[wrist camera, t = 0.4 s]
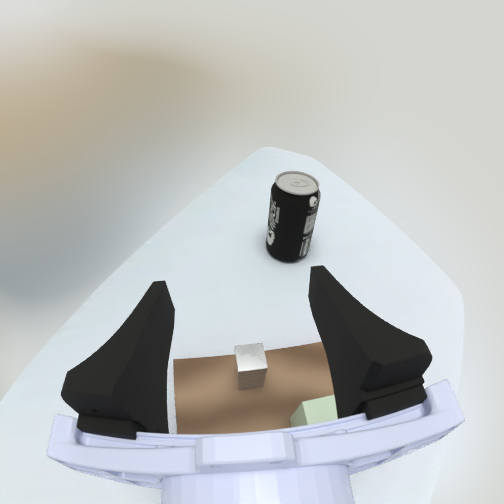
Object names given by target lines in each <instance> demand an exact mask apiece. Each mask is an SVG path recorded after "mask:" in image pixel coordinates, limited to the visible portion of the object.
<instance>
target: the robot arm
mask: <svg viewBox="0 0 504 504" xmlns="http://www.w3.org/2000/svg"><path fill="white" fill-rule="evenodd" d="M308 297H309V302H310V307H311V311H312V315H313V318H314V321H315V323H316V326H317V329H318V332H319V335H320V338H321V340H322V343H323V346H324V349H325V352H326V356H327V360H328V364H329V369H330V374H331V379H332V384H333V390H334V396H335V402H336V410H337V417H338V419H336V420H331V421H326V422H321V423H316V424H310V425H304V426H298V427H292V428H284V429H277V430H268V431H258V432H246V433H231V434H169V430H168V418H167V368H168V360H169V354H170V348H171V342H172V336H173V330H174V315H175V309H174V306H173V303H172V300H171V297H170V294H169V291H168V288H167V285H166V282H165V281H155V282H153V283H152V284H151V286H150V287H149V289H148V290H147V292H146V293H145V295H144V296H143V298H142V299H141V300H140V302H139V303H138V305H137V306H136V307H135V309H134V310H133V312H132V313H131V314H130V316H129V317H128V318H127V319H126V321H125V322H124V323H123V325H122V326H121V327H120V328H119V329H118V330H117V332H116V333H115V334H114V335H113V336H112V337H111V338H110V339H109V340H108V341H107V342H106V343H105V344H104V345H103V346H101V347H100V348H99V349H98V350H97V351H96V352H95V353H93V354H92V355H91V356H90V357H88V358H87V359H86V360H85V361H83V362H82V363H80V364H79V365H77V366H76V367H74V368H73V369H71V370H70V371H68V372H67V374H66V378H65V381H64V384H63V388H62V391H61V397H62V398H63V400H64V401H65V402H66V403H67V404H68V405H69V406H70V407H71V408H72V409H74V410H75V411H76V412H77V413H78V414H79V417H78V419H76V418H74V417H71V416H66V415H61V414H55V416H54V420H53V425H52V429H51V434H50V438H49V443H48V448H47V454H46V455H47V456H48V457H49V458H51V459H53V460H55V461H57V462H59V463H61V464H63V465H65V466H67V467H69V468H71V469H73V470H75V471H79V472H82V473H86V474H90V475H94V476H98V477H102V478H106V479H110V480H114V481H119V482H123V483H128V484H133V485H139V486H144V487H150V488H157V489H162V504H355V502H354V497H353V492H352V488H351V483H350V478H349V475H350V474H353V473H357V472H360V471H363V470H366V469H369V468H372V467H375V466H378V465H380V464H383V463H386V462H388V461H391V460H394V459H396V458H399V457H401V456H403V455H406V454H408V453H411V452H413V451H415V450H418V449H420V448H422V447H424V446H427V445H429V444H431V443H433V442H435V441H437V440H440V439H441V438H443V437H444V436H446V435H447V434H448V433H450V432H451V431H452V430H454V429H455V428H456V427H458V426H459V425H460V424H461V423H463V422H464V421H465V417H464V415H463V412H462V410H461V407H460V405H459V403H458V400H457V398H456V396H455V394H454V391H453V389H452V387H451V385H450V383H449V381H448V380H447V379H446V380H443V381H441V382H438V383H436V384H433V385H431V386H429V387H427V388H426V389H424V387H423V385H422V384H423V383H424V379H423V377H422V375H423V374H424V372H425V371H426V369H427V368H428V367H429V365H430V363H431V361H432V355H431V353H430V351H429V349H428V346H427V345H426V343H425V342H424V340H422V339H420V338H417V337H415V336H413V335H410V334H408V333H406V332H404V331H402V330H400V329H398V328H396V327H394V326H393V325H391V324H389V323H388V322H386V321H384V320H383V319H381V318H380V317H378V316H377V315H375V314H374V313H373V312H371V311H370V310H369V309H367V308H366V307H365V306H363V305H362V304H361V303H360V302H359V301H358V300H356V299H355V298H354V297H353V296H352V295H351V294H350V293H349V292H348V291H347V290H346V289H345V288H344V287H343V286H342V285H341V284H340V283H339V282H338V281H337V280H336V279H335V278H334V277H333V276H332V274H331V273H330V272H329V271H328V270H327V269H326V268H325V267H324V266H323V265H322V266H313V267H311V273H310V284H309V295H308Z"/></svg>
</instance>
